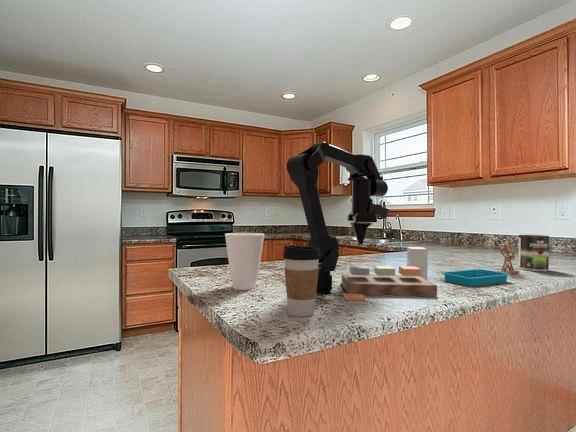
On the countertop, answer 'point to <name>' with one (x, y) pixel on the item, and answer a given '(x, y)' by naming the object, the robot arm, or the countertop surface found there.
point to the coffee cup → (301, 279)
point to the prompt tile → (354, 297)
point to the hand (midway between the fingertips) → (360, 244)
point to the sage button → (384, 270)
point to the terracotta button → (409, 271)
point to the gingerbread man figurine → (504, 249)
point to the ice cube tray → (475, 277)
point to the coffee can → (534, 252)
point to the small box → (418, 259)
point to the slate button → (359, 270)
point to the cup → (244, 258)
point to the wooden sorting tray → (388, 285)
